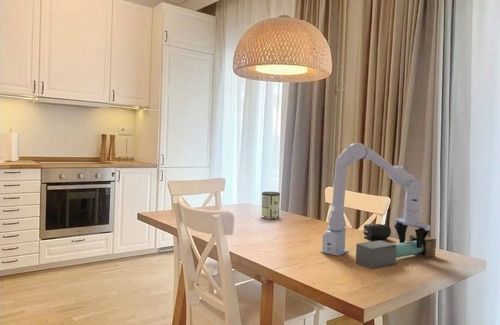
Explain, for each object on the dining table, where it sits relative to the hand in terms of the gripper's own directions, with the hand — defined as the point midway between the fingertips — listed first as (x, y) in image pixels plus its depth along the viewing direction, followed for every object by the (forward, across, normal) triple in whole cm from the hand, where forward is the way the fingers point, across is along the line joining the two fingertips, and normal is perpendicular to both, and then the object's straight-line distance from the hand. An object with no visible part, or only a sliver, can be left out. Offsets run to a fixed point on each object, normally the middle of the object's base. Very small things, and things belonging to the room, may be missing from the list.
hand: (410, 245), depth 148 cm
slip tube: (+4, 0, +4) cm, 6 cm away
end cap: (+5, +25, -10) cm, 28 cm away
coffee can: (+5, +88, +6) cm, 89 cm away
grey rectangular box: (+5, 0, +19) cm, 19 cm away
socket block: (+4, 0, -7) cm, 8 cm away
